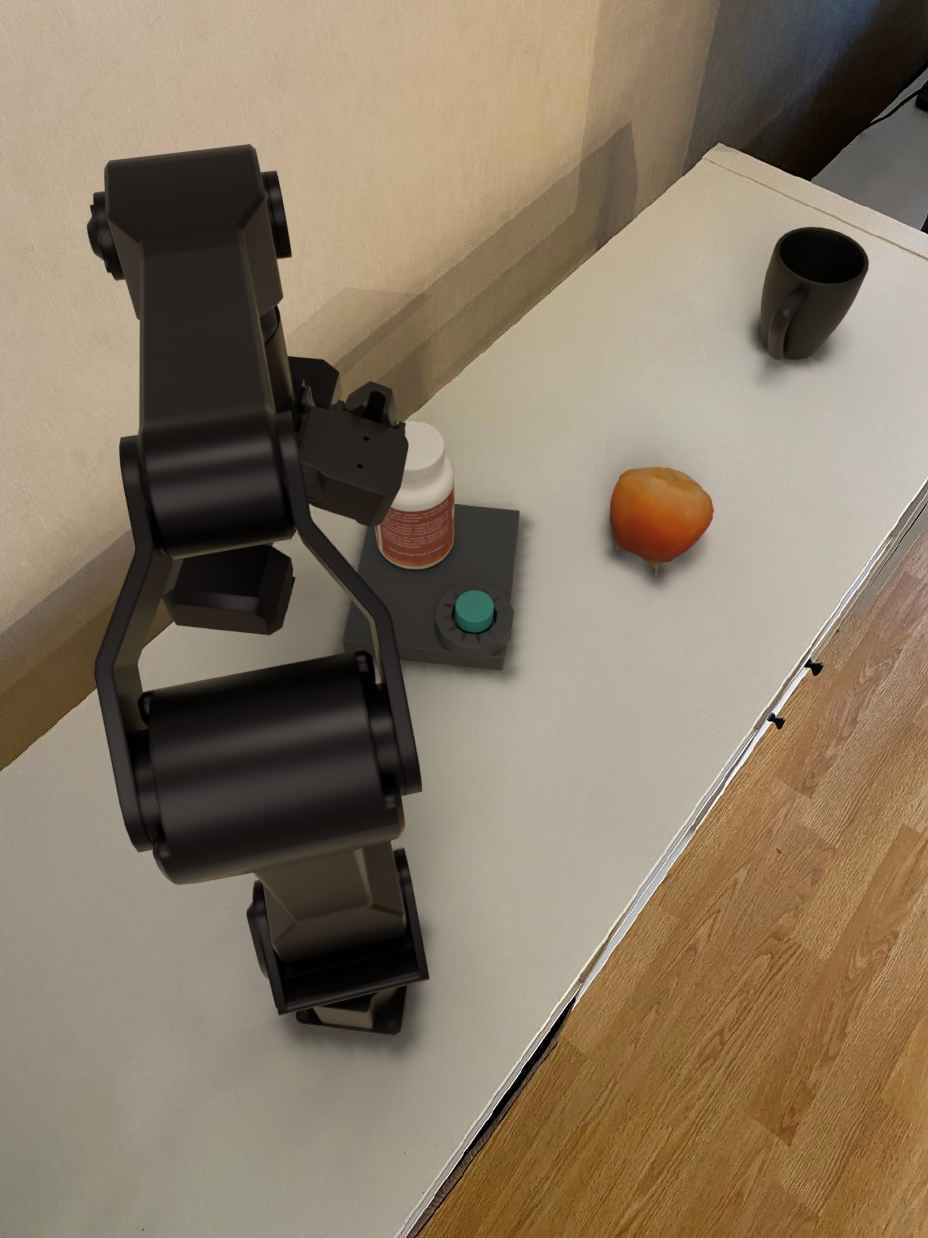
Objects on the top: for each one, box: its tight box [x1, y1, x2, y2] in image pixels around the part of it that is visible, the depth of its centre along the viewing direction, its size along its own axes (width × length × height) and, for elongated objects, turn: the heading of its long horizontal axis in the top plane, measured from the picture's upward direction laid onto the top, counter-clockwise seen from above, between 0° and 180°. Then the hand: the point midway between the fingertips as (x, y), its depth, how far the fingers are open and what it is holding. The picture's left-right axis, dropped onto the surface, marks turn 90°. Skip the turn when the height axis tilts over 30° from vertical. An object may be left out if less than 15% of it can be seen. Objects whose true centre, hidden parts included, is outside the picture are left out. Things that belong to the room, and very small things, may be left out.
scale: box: [342, 503, 521, 671], centre depth 75 cm, size 14×12×4 cm
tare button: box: [455, 590, 494, 633], centre depth 71 cm, size 3×3×2 cm
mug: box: [759, 226, 870, 361], centre depth 88 cm, size 8×12×10 cm
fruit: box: [609, 466, 715, 578], centre depth 77 cm, size 8×8×8 cm
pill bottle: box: [375, 420, 456, 569], centre depth 72 cm, size 6×6×11 cm
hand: (280, 568), depth 63 cm, fingers open, 9 cm apart
